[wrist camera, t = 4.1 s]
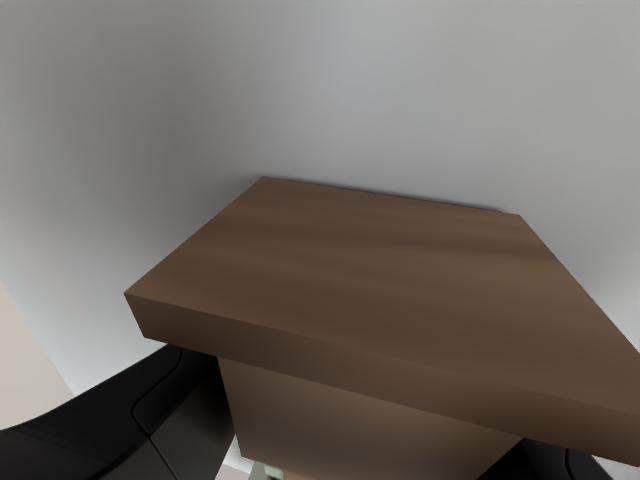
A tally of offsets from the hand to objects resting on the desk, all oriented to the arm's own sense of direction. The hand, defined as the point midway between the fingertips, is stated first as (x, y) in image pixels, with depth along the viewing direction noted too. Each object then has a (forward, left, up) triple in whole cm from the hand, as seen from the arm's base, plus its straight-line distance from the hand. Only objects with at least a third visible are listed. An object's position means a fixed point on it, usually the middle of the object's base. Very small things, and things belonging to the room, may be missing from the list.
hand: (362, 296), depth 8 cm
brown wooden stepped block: (0, +7, -1) cm, 7 cm away
